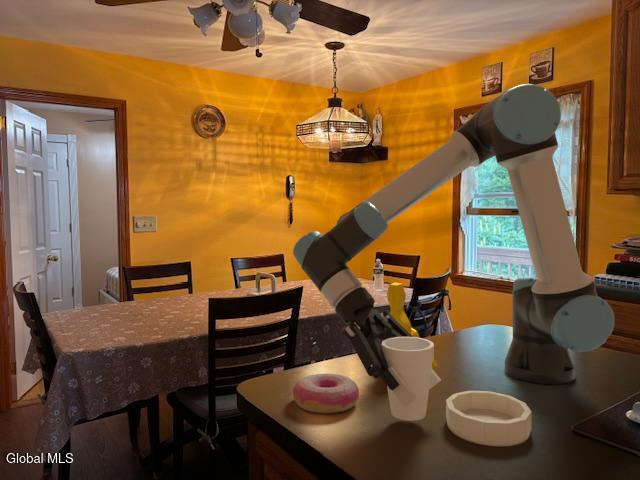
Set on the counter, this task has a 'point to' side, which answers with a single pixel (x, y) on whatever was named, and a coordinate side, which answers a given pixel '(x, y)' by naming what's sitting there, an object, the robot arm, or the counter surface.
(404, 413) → the foam cup
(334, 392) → the donut
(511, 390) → the counter surface
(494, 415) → the dish
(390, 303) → the figure statuette
